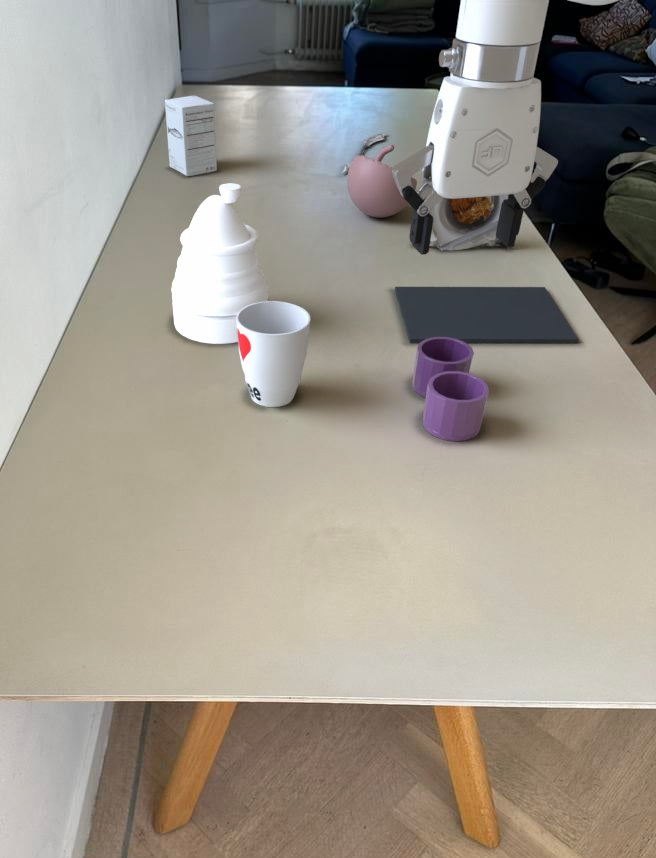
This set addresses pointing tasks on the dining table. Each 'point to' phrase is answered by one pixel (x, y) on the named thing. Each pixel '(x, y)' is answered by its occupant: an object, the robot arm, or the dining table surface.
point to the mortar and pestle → (375, 186)
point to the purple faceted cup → (454, 405)
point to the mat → (483, 314)
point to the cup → (272, 350)
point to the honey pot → (216, 271)
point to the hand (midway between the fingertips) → (462, 246)
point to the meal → (466, 222)
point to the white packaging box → (191, 135)
